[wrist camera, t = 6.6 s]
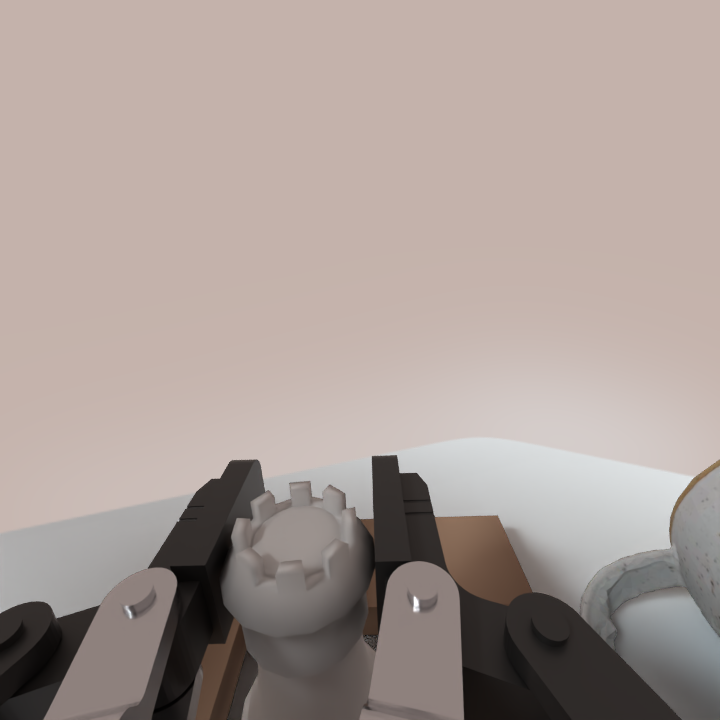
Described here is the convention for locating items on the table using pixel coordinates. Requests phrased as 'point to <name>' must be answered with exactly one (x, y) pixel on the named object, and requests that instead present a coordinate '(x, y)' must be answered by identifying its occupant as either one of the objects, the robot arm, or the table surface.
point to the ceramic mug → (667, 561)
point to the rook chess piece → (302, 605)
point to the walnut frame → (463, 560)
